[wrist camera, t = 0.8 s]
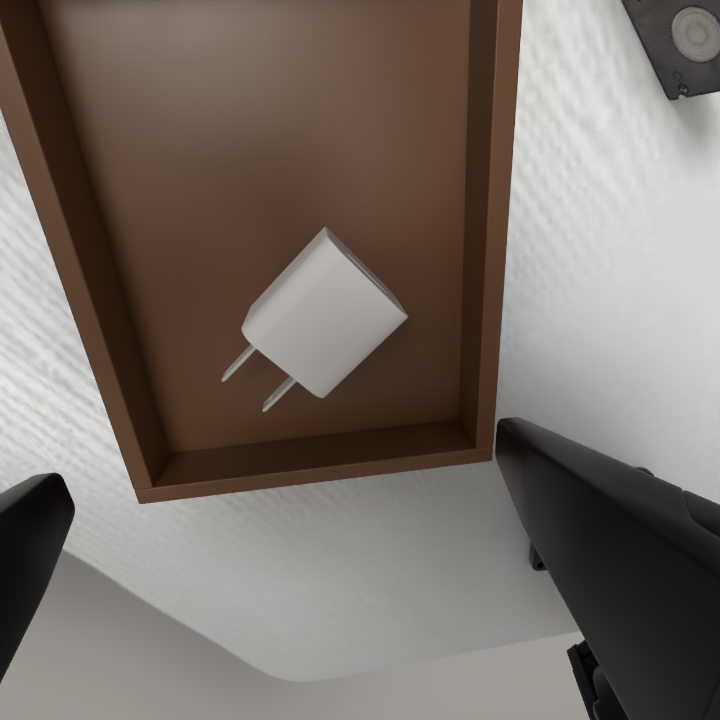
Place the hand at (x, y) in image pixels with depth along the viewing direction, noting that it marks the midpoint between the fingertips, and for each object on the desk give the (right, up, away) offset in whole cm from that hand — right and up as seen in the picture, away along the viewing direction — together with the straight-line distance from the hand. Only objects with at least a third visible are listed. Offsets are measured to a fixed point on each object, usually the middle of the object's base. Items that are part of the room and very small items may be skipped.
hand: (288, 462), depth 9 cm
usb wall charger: (-1, +4, +10) cm, 11 cm away
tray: (-1, +7, +9) cm, 11 cm away
